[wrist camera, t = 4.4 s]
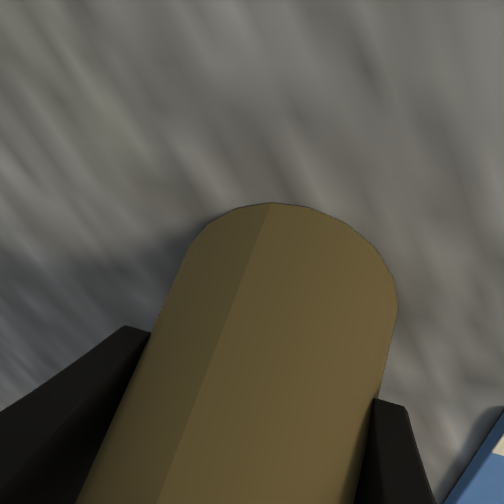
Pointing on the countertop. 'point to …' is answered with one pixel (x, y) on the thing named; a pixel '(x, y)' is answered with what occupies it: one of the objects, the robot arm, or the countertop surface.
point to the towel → (483, 473)
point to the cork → (255, 369)
